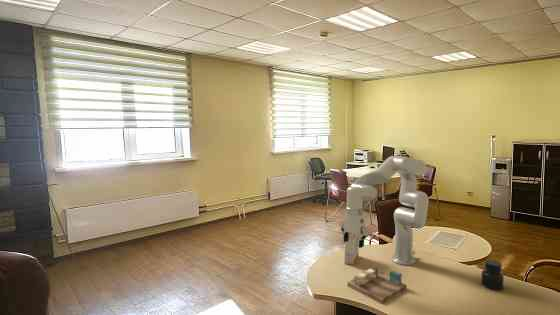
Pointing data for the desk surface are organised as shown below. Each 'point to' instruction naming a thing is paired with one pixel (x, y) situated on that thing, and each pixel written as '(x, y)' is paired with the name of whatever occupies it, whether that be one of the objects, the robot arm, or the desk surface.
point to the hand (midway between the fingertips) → (353, 244)
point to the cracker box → (351, 249)
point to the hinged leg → (366, 276)
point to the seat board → (381, 287)
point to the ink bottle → (492, 275)
